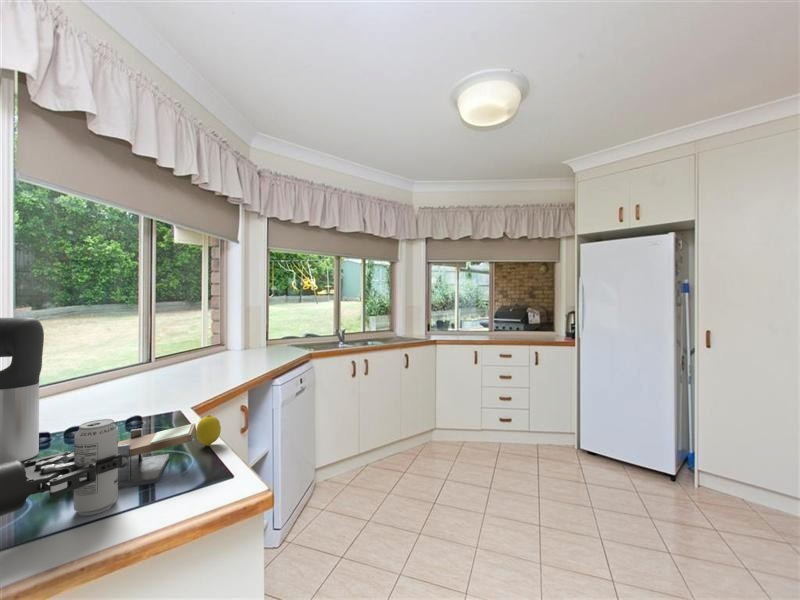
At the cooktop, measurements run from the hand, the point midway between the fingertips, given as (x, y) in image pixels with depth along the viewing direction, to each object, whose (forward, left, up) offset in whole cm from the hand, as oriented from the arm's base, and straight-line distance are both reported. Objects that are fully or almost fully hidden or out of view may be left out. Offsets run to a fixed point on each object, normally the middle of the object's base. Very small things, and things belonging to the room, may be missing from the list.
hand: (112, 456), depth 67 cm
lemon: (-23, +14, -9) cm, 28 cm away
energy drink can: (+1, -2, -9) cm, 9 cm away
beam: (-12, 0, -3) cm, 12 cm away
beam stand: (-12, 0, -8) cm, 14 cm away
